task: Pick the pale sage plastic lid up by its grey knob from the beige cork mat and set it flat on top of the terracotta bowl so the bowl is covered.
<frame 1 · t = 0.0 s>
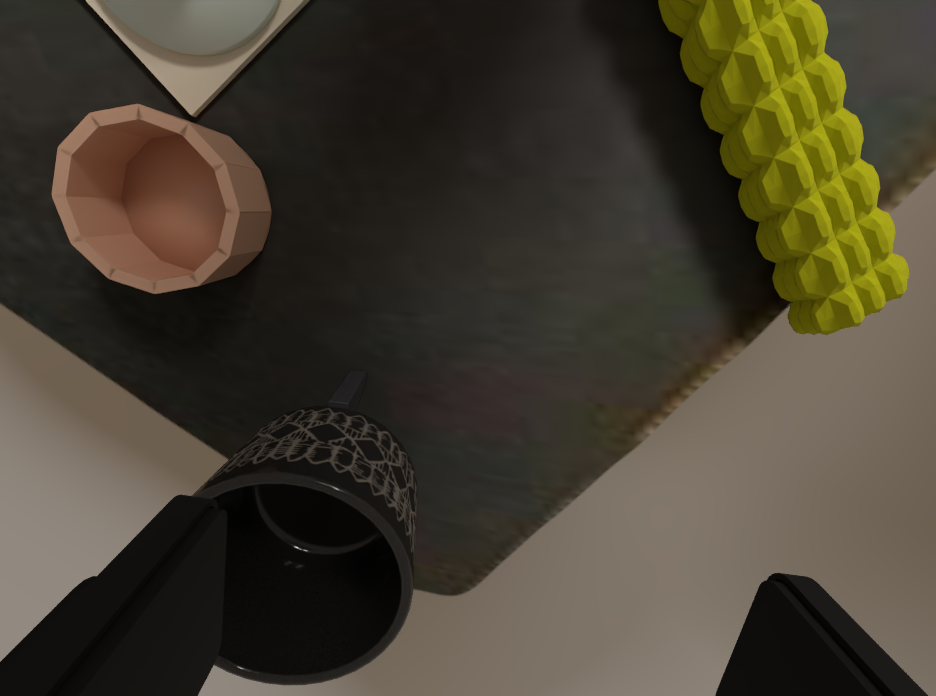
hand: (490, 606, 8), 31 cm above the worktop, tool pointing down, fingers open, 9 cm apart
bowl: (195, 204, 36), on the worktop
planter: (353, 431, 41), on the worktop
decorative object: (745, 127, 36), on the worktop
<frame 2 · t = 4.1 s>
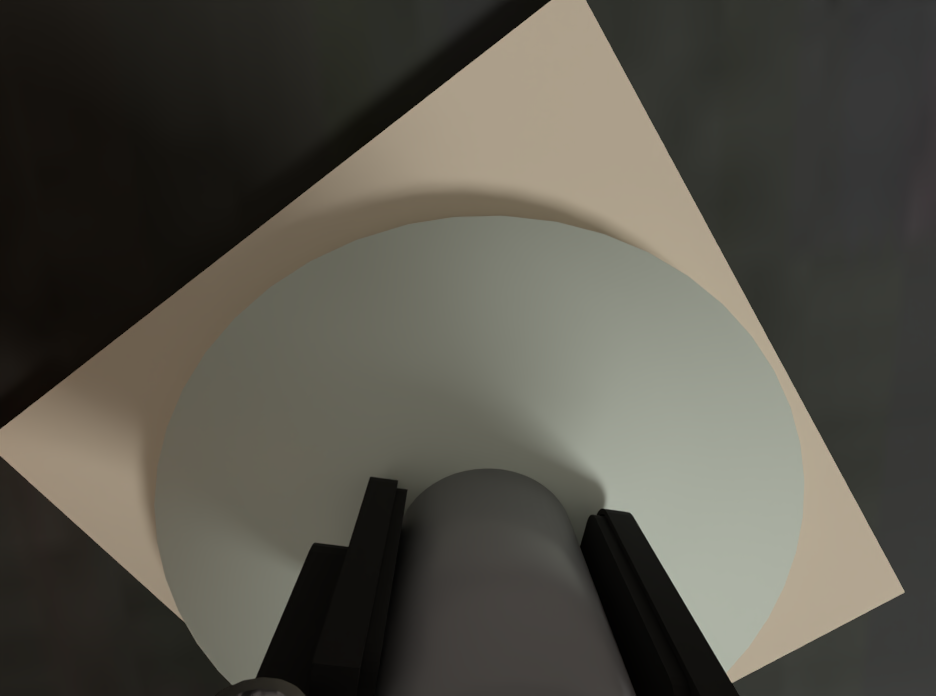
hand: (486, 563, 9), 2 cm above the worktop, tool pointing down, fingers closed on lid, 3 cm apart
lid: (482, 523, 11), point 1 cm above the worktop, touching gripper, mat
mat: (481, 506, 11), on the worktop
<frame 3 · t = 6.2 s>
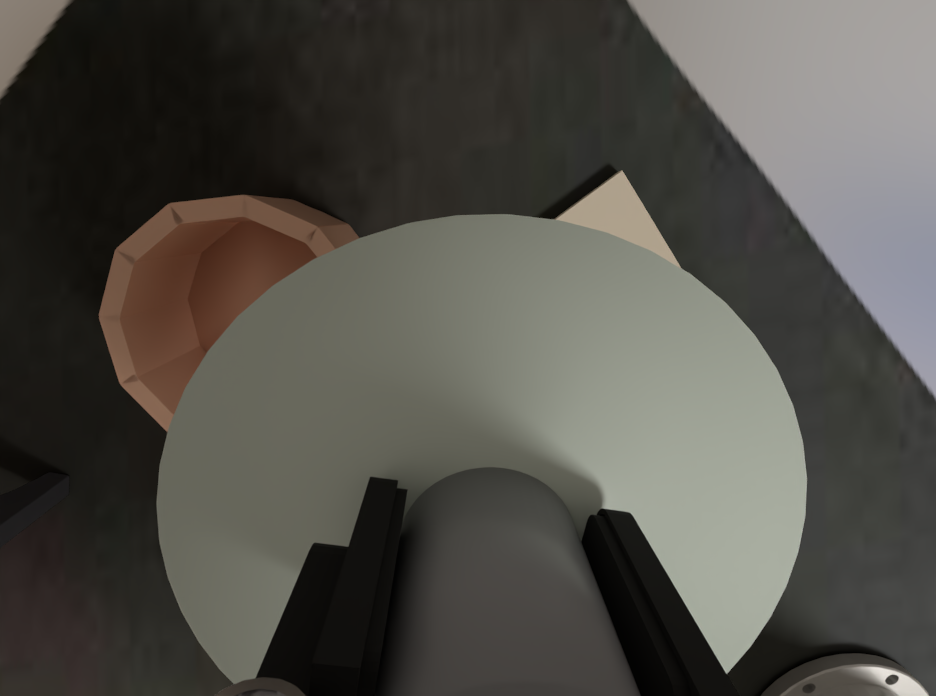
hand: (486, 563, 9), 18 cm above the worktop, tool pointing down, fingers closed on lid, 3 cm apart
bowl: (288, 309, 26), on the worktop
lid: (484, 522, 11), point 16 cm above the worktop, touching gripper
mat: (581, 364, 27), on the worktop
when the fingers open (9 cm above the worktop, at t = 8.7 s): lid drops 1 cm, resting on bowl.
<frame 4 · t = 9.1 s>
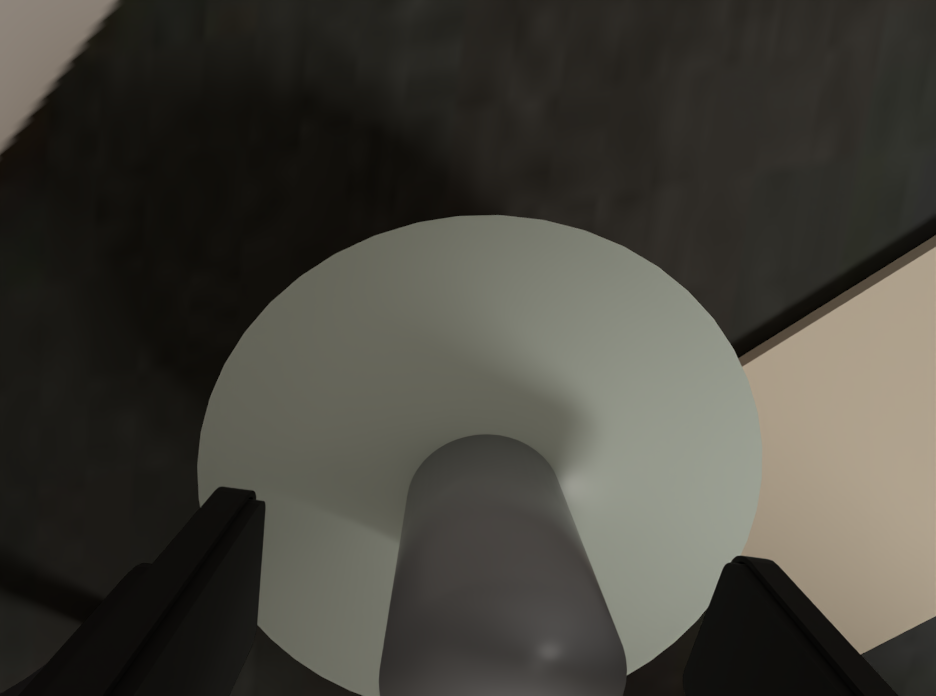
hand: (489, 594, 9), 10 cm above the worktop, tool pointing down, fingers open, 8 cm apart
lid: (482, 486, 12), point 6 cm above the worktop, touching bowl
mat: (870, 474, 19), on the worktop
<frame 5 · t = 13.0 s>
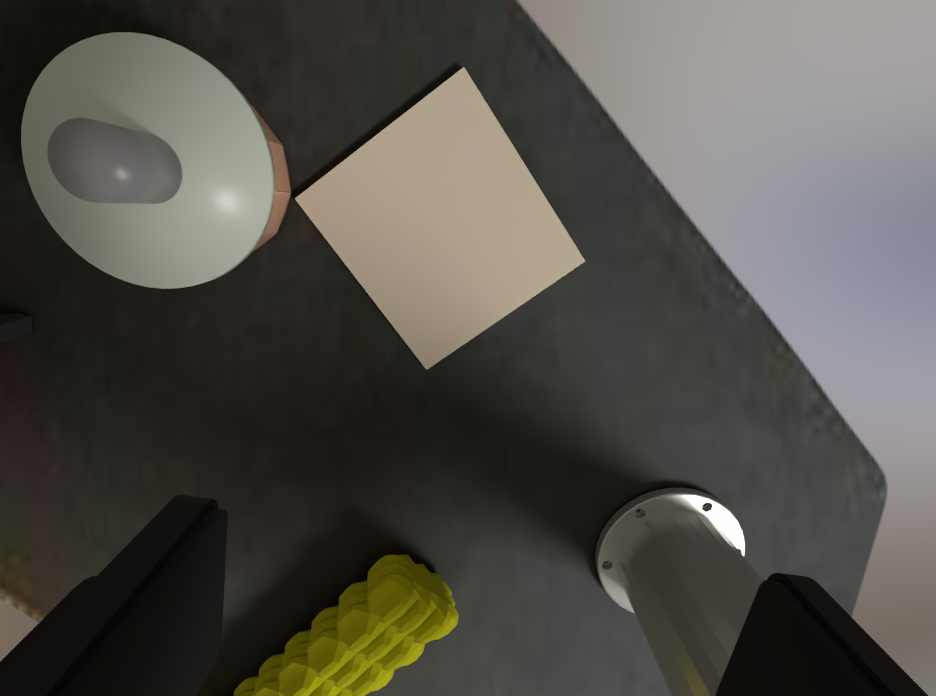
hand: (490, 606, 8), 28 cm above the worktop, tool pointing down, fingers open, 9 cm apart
bowl: (207, 177, 33), on the worktop
lid: (156, 170, 27), point 6 cm above the worktop, touching bowl
mat: (443, 230, 34), on the worktop
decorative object: (310, 655, 45), on the worktop
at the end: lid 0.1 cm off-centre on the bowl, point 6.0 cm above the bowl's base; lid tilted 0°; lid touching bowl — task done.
